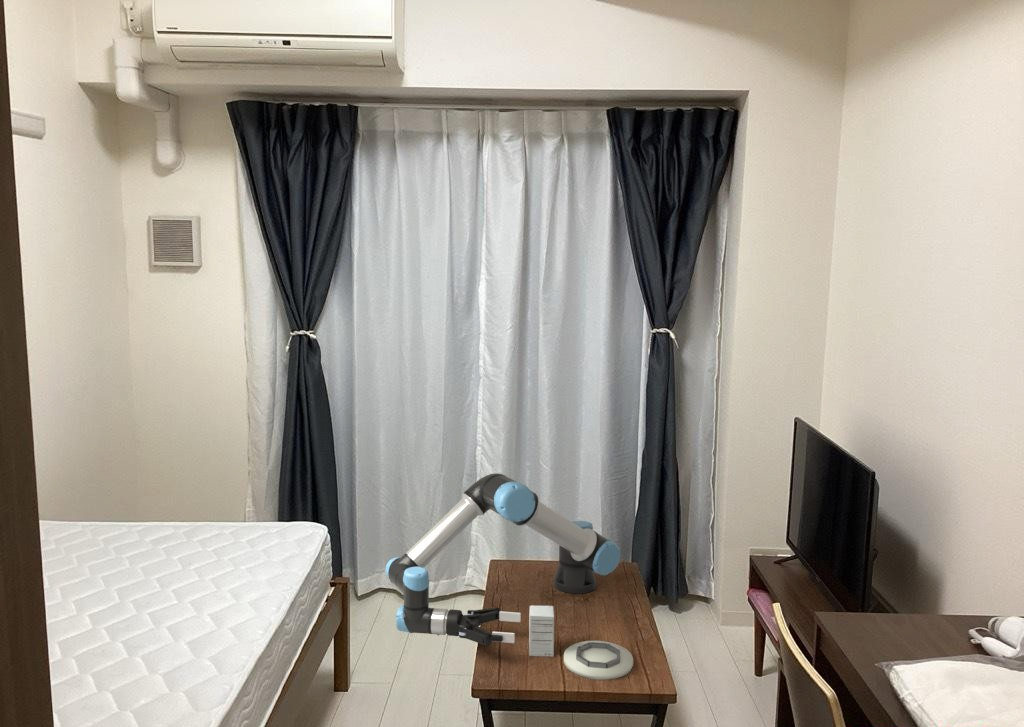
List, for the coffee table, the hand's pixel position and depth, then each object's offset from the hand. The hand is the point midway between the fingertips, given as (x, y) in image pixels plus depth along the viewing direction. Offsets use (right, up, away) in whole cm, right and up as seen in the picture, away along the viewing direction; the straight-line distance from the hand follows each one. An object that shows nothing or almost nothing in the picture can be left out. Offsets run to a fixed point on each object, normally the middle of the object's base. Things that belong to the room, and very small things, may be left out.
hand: (517, 627), depth 237 cm
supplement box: (+7, -7, 0) cm, 10 cm away
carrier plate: (+23, -8, -6) cm, 25 cm away
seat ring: (+23, -6, -6) cm, 25 cm away
